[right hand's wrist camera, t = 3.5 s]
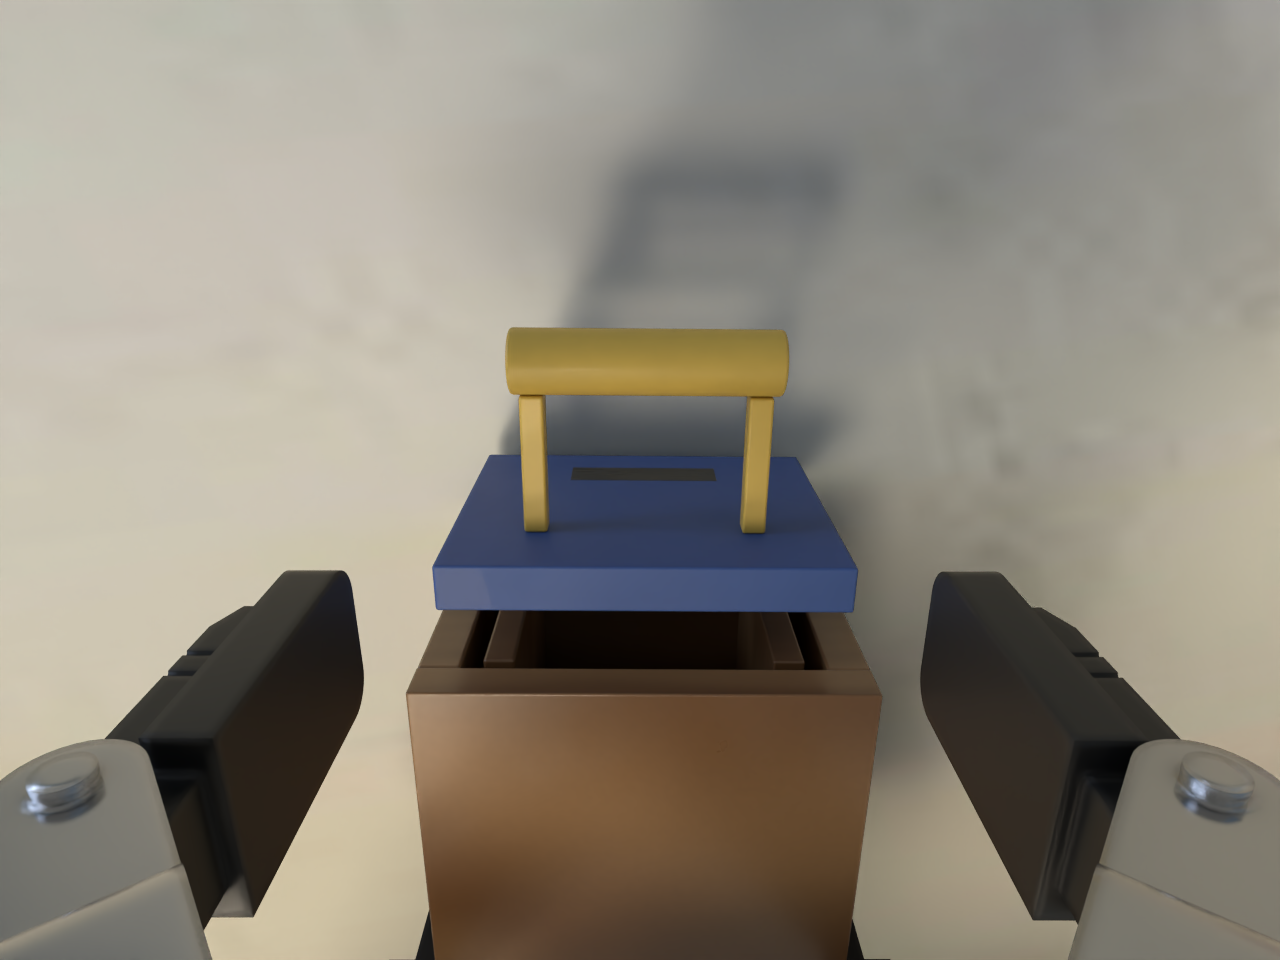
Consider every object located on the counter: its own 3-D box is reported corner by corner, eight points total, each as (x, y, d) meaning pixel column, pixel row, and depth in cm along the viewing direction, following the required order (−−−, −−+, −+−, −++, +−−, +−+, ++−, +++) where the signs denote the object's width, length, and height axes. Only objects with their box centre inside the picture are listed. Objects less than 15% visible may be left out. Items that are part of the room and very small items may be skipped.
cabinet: (481, 519, 29) (404, 692, 19) (802, 521, 29) (884, 695, 19) (502, 848, 34) (450, 1111, 25) (773, 849, 34) (826, 1112, 25)
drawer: (479, 292, 25) (411, 346, 17) (809, 295, 25) (884, 350, 17) (508, 785, 32) (468, 979, 24) (769, 786, 32) (811, 980, 24)
